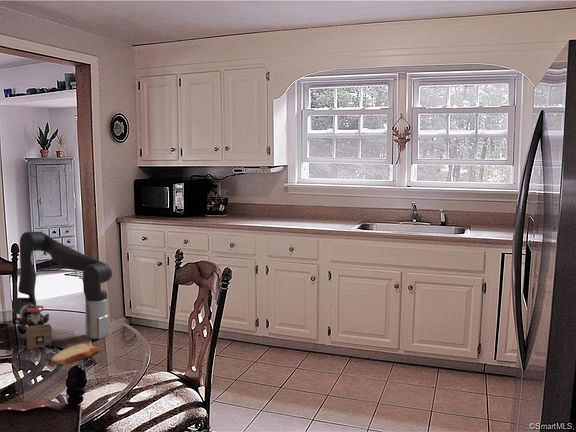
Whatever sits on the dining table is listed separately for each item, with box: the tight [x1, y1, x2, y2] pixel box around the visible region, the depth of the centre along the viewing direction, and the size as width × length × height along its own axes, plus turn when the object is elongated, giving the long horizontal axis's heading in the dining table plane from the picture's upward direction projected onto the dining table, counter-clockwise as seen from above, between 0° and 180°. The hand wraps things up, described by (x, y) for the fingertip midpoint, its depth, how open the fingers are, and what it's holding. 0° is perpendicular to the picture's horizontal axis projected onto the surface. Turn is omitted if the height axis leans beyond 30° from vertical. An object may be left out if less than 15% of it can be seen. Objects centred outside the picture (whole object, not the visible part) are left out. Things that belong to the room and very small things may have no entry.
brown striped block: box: [25, 323, 53, 351], centre depth 219 cm, size 5×9×8 cm, turn 125°
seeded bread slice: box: [50, 343, 101, 365], centre depth 210 cm, size 18×18×4 cm
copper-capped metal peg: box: [27, 305, 45, 343], centre depth 222 cm, size 14×6×14 cm, turn 35°
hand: (36, 324), depth 223 cm, fingers closed on copper-capped metal peg, 3 cm apart
